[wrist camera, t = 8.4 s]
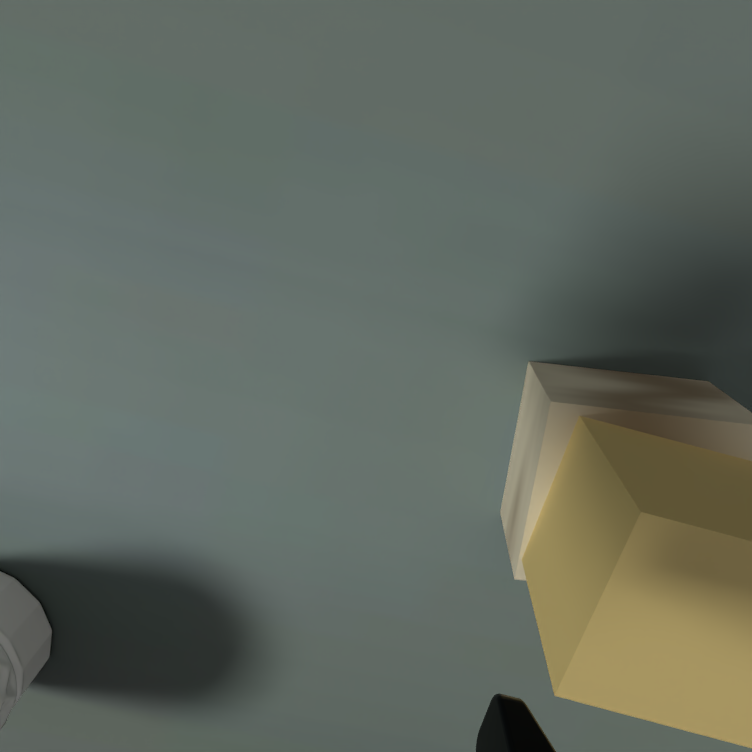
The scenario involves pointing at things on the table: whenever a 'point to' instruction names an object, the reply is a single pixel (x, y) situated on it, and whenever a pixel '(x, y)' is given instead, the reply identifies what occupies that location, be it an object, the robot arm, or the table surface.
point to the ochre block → (647, 580)
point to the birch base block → (611, 405)
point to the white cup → (20, 642)
